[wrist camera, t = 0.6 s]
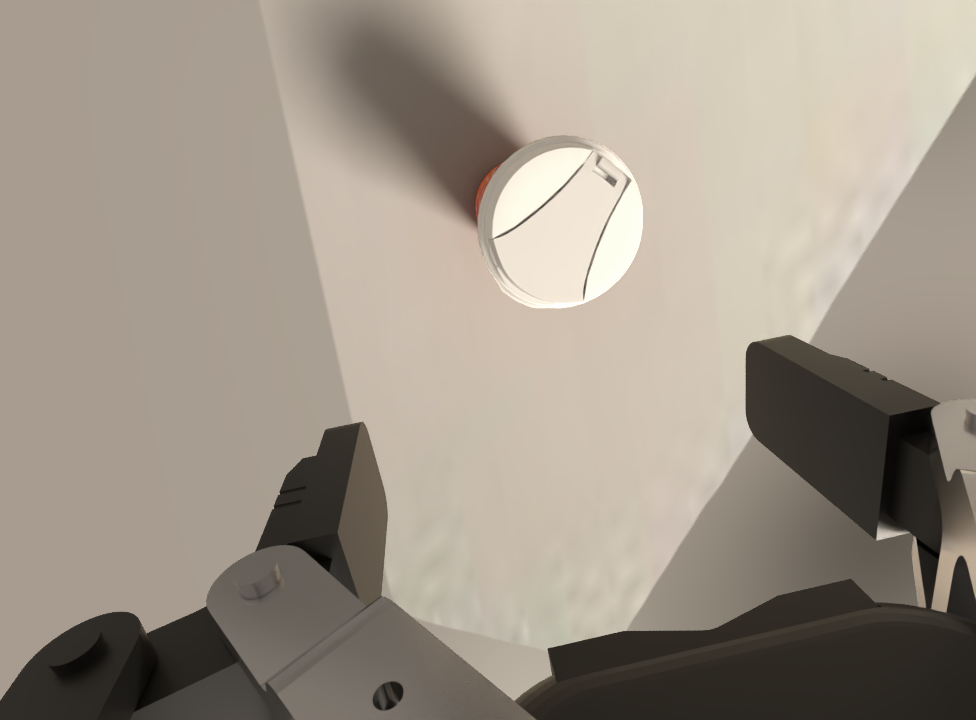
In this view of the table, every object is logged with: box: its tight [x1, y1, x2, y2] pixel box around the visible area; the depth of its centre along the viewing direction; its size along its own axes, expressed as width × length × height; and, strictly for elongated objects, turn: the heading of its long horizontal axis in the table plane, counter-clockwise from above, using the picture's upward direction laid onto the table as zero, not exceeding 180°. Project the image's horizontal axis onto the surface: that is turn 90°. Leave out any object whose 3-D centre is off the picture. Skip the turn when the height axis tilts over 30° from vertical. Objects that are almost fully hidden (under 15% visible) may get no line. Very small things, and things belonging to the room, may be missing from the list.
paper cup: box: [475, 135, 643, 308], centre depth 31 cm, size 8×8×14 cm
